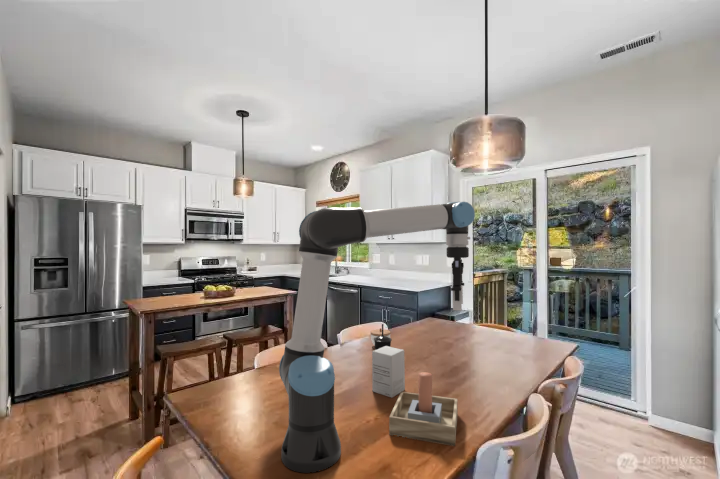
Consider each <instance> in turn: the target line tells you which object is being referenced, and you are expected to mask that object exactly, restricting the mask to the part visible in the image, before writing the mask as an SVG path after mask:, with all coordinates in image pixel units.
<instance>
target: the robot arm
mask: <svg viewBox="0 0 720 479" xmlns="http://www.w3.org/2000/svg"><path fill="white" fill-rule="evenodd" d="M475 216H476V214H475V208H474V207H473V205H472V204H470V203H469V202H467V201H453V202H452V201H451V202H447V203H442V204H439V203H438V204H428V205H427V204H426V205H417V206H406V207H392V208H380V209H371V210H364V209H363V208H361V207H324V208H320V209H318V210H314V211H312V212H310V213H308V214H307V215H306V216H304V218H303V219H302V221H301V222H300V224H299V228H298V229H299V231H298V235H299V238H300V240H299V249H298V253H299V255H300V257H302V264H301V269H300V276H299V284H298V291H297V296H296V305H295V310H294V311H295V313H294V319H293V324H292V325H293V326H292V333H291V338H290V339H289V340H287V342H285V345H284V353H283V355H282V357H280V358H281V359H280V361H279V366H278V367H279V368H278V369H279V370H278V371H279V376H280V380H281V381H282V384H283V385H284V389H285V390H286V393H287V397H288V425H287V426H288V427H287V429H286V433H285V435H284V439H283V442H282V445H281V458H280V459H281V462H282V464H283V465H284V466H285V467H286V468H288V469H289V470H291V471H293V472H297V473H302V474H303V473H305V474H307V473H308V474H310V472H312V473H317V472H316V471H318V472H320V471H319V470H322V471H324V470H323V469H325V470H327V469H328V467H329V468H331V467H332V466H333V464H334V465H336V463H337V462H338V461H339V459H340V458H341V454H342V444H341V440H340V436H339V433H338V430H337V427H336V424H335V381H336V376H335V369H334V364H333V363H332V361H330V360H329V359H328V358H325V357H324V355H325V354H324V353H325V346H324V344H323V343H322V342H321V339H322V333H323V332H322V331H323V324H324V318H325V308H326V304H327V303H326V301H327V296H328V295H327V294H328V286H329V280H330V273H331V267H332V262H333V261H334V260H335V259H336V258H338V251H339V248H340V247H344V246H348V245H353V244H357V243H364V242H366V240H367V239H368V238H375V237H376V238H377V237H384V236H385V237H386V236H392V235H393V236H394V235H400V234H401V235H402V234H410V233H411V234H412V233H420V232H426V231H437V230H445V232H446V234H445V238H446V239H445V241H446V246H447V247H446V257H447V258H449V259H450V258H451V259H452V258H453V261H452V263H451V272H452V273H451V274H452V287H451V288H450V291H452V310H453V311H459V312H460V311H461V312H462V311H463V310H462V309H463V307H462V306H463V305H464V300H463V298H464V295H463V294H464V293H463V291H464V290H463V287H464V286H465V282H463V273H464V268H465V266H464V262H463V260H462V259H466V258H469V256H470V253H469V252H470V250H469V247H468V246H469V240H471V237H470V236H469V226H470V225H471V224H473V222H474V220H475V218H476V217H475ZM330 466H331V467H330ZM326 468H327V469H326Z"/></svg>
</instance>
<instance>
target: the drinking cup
mask: <svg viewBox="0 0 720 479" xmlns="http://www.w3.org/2000/svg"><path fill="white" fill-rule="evenodd" d="M381 329H382V336H378V337H375V338H374V341H375V345H374V349H375V350H377V349H379V348H382V347H384V346H389V347H392V346H391V344H392V338H391V337H390V338H389V337H387V336H383V329H384V323H381Z"/></svg>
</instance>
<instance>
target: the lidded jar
mask: <svg viewBox="0 0 720 479" xmlns="http://www.w3.org/2000/svg"><path fill="white" fill-rule="evenodd" d="M391 334H392V333H391V331H390V330H388V329H384V328H383V336H387V337H389V338H391ZM378 336H382V327H381V328H377V329H376V328H375V329H372V330H371V331H370V340H371V343H372V345H373V346H375V341H374V338H375V337H378Z"/></svg>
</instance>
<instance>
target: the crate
mask: <svg viewBox="0 0 720 479" xmlns="http://www.w3.org/2000/svg"><path fill="white" fill-rule="evenodd" d="M412 400H419V393H418V392H417V393H415V392H407V391H402V392H400V393H399V396H398V398H397V400H396V402H395V404H394V407H393V408H392V409H391V410H392V411H391V413H390V414H389V419H388V426H389V427H388V428H389V430H388V435H389V436H393V435H397V436H396V437H399V436H402V437H401V438H405V437H407V438H406V439H411V438H412V439H411V440H416V439H417V440H418V441H423V442H428V443H435V444H440V445H445V446H446V445H447V446H452V447H455V446H456V439H457V438H456V437H457V424H458V398H455V397H446V396H438V395H432V402H433V403H441V404H442V419H441V424H440V423H434V422H427V421H421V420H414V419H408V411H409V408H410V406H411V403H412Z"/></svg>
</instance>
